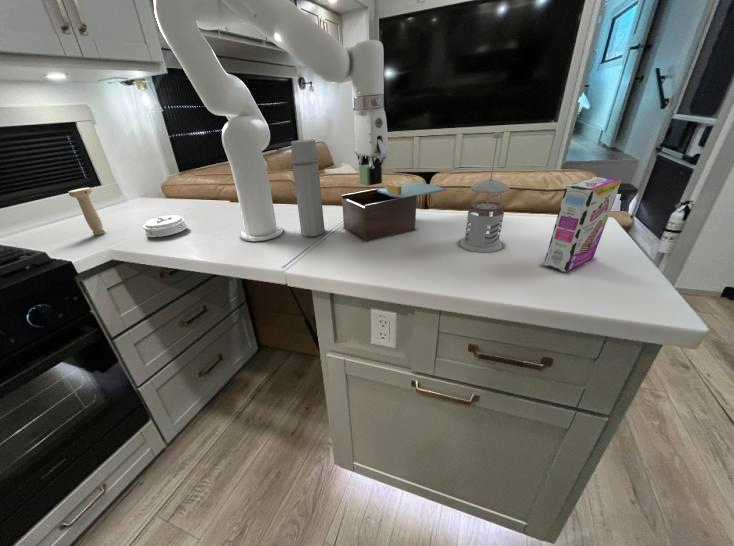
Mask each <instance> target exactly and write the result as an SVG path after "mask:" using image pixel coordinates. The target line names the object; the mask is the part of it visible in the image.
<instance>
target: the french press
mask: <svg viewBox="0 0 734 546" xmlns="http://www.w3.org/2000/svg"><path fill="white" fill-rule="evenodd" d="M503 136H504V134H503V132H501V131H496V132H494V133H493V135H492V139H496V142H495V148H494V154H493V161H492V165H491V166H492V167H491V173H490V178H489V179H484V180H481V181H478V182H475V183H474V184H472V185H471V186H470V189H471V190H472V192H475V193H479V194H487V199H486V200H479V201H475V202H472V203H471V204H470V207H471V208H470V209H469V210H468V211H467V219H466V225H465V226H466V227H465V231H464V233H465V234H464V238H463V239H461V241H460V242H459V245H460V247H461V248H463V249H465V250H467V251H468V250H469V251H471V252H476V253H477V252H478V253H490V252H497V251H500V250H501V249H502V248H503V244H502V243H501V241H500V237H501V231H502V227H503V225H502V224H503V221H504V215H505V212H504V210H503V208H504V207H505V205H504V204H503V203H502V197H503V196H502V195H503V193H506V192H508V191H509V190H510V186H509V185H508V184H506V183H505V182H503V181H500V180H498V179H493V171H494V167H495V166H494V165H495V159H496V153H497V147H498V140H499V139H503ZM499 194H500V196H499ZM489 196H492V197H493V200H492V201H491V200H489ZM498 196H499V197H500V200H499V202H498V201H495V200H496V199H495V198H496V197H498ZM476 214H477V215H476ZM488 226H489V228H488ZM487 232H489V233H487Z"/></svg>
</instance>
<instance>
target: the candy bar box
mask: <svg viewBox="0 0 734 546" xmlns="http://www.w3.org/2000/svg"><path fill="white" fill-rule="evenodd" d="M622 181H623V180H622V179H619V178H609V177H601V176H594V177H590V178H588V179H585V180H584V179H583V180H582V181H577V182H575V183H572V184H568V185H565V188H564V192H563V195H562V198H561V203H560V206H559V210H558V212H557V217H556V220H555V222H554V224H555V225H554V227H553V230H552V234H551V238H550V241H549V245H548V248H547V251H546V254H545V258H544V261H543V264H542V265H543V267H546V268H549V269H553V270H556V271H558V272H562V273H568V272H570V271H572V270H574V269H576V268H577V267H579V266H581V265H583V264H585V263H587V262H589V261H591V260H592V259H594V257H595V254H596V252H597V249H598V246H599V243H600V241H601V238H602V235H603V232H604V230H605V227H606V224H607V221H608V219H609V216H610V214H611V211H612V209H613V206H614V203H615V201H616V197H617V195H618V192H619V189H620V187H621V184H622Z"/></svg>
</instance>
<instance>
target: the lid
mask: <svg viewBox="0 0 734 546" xmlns="http://www.w3.org/2000/svg"><path fill="white" fill-rule="evenodd" d="M187 227H188V226H187V224H186V223H185V218H184V217H182V216H180V215H177V214H176V215H175V214H174V215H173V214H171V215H163V216H158V217H155V218H152V219H149V220H147V221H145V223H144V224H143V225H142V228H143V229H144V232H145V236H147V237H149V238H157V237H158V238H159V237H160V238H161V237H165V236H166V237H167V236H171V235H174V234H178V233H180V232H182V231H185V230H186V229H187Z"/></svg>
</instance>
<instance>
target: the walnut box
mask: <svg viewBox="0 0 734 546" xmlns="http://www.w3.org/2000/svg"><path fill="white" fill-rule="evenodd" d="M384 188H387V186H384V187H378V188H373V189H368V190H363V191H357V192H352V193H347V194H342V195H341V202H342V203H341V204H342V220H343V229H345V230H346V231H348V232H350V233H351V234H353V235H355V236H356V237H358V238H359V239H361V240H363V241H365V242H371V241H374V240H379V239H383V238H386V237H390V236H395V235H399V234H403V233H406V232H407V233H408V232H411V231H412V232H413V231H415V230H416V218H417V202H418V201H417V199H418V197H417V195H413V196H408V197H403V198H398V199H397V198H394V197H391V196H388V195H385V194H382V193H379V192H377V190H379V189H384Z"/></svg>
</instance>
